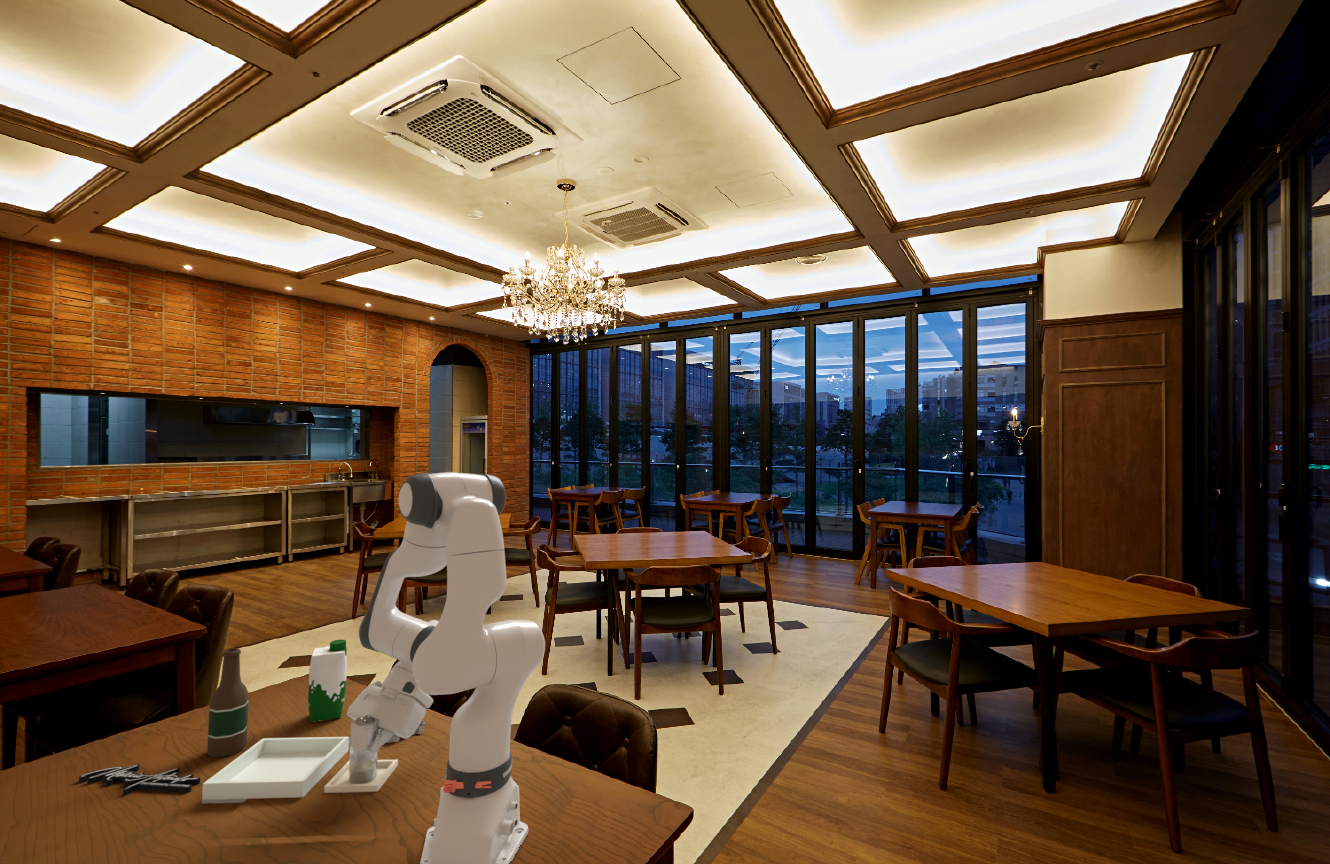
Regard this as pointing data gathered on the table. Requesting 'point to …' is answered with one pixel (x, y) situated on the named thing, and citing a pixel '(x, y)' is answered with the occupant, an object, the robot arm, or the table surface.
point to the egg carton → (396, 738)
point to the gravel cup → (363, 750)
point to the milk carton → (327, 681)
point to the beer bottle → (228, 710)
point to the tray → (343, 785)
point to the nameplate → (142, 779)
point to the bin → (275, 769)
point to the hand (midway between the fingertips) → (361, 747)
